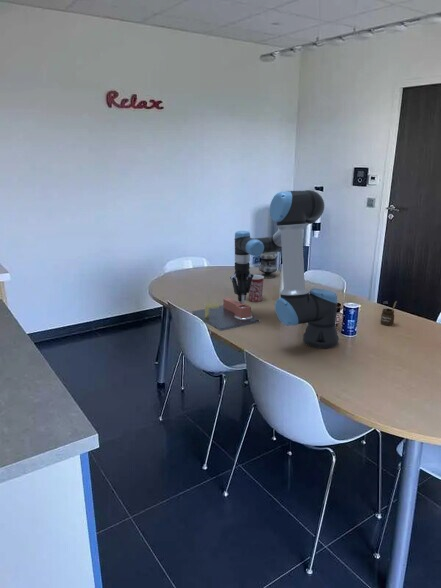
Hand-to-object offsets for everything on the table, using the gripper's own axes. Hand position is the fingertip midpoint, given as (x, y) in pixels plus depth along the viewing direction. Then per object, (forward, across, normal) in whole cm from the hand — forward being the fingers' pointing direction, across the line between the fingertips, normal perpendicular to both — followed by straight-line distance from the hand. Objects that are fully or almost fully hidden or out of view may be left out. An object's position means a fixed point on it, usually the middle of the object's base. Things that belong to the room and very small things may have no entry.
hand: (241, 306), depth 235 cm
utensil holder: (+3, -50, +51) cm, 71 cm away
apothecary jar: (+3, -54, -50) cm, 74 cm away
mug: (+3, -19, -14) cm, 24 cm away
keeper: (+3, +19, +2) cm, 19 cm away
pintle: (+2, +5, +8) cm, 10 cm away
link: (+2, +5, +2) cm, 5 cm away
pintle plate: (+3, +12, +3) cm, 12 cm away
